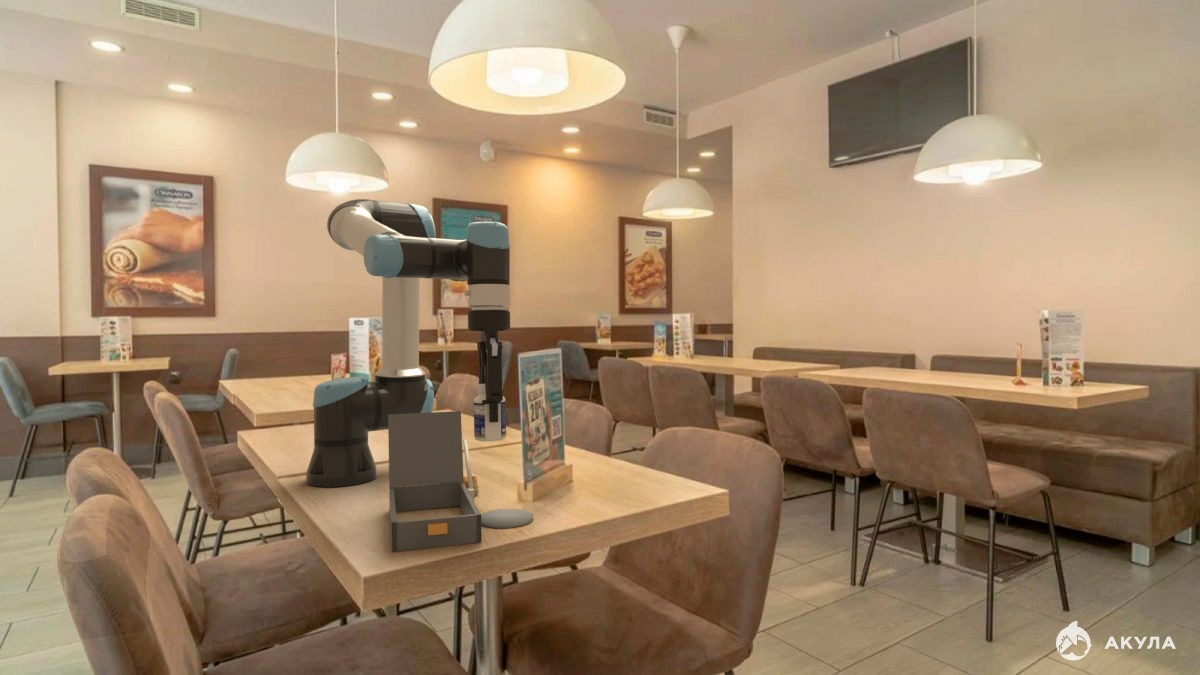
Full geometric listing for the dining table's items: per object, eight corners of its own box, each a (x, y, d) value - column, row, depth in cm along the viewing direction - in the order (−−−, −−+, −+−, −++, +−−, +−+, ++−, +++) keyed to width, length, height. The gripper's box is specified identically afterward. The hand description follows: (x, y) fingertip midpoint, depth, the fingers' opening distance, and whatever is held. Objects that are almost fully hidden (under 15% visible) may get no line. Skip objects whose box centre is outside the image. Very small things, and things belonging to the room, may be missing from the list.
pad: (474, 515, 124) (474, 511, 124) (526, 509, 127) (526, 506, 127) (482, 530, 114) (482, 527, 114) (538, 524, 118) (538, 521, 118)
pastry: (433, 500, 135) (433, 482, 135) (432, 493, 142) (432, 475, 142) (480, 497, 138) (480, 478, 138) (477, 489, 144) (476, 472, 144)
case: (389, 505, 131) (388, 414, 130) (466, 499, 135) (465, 410, 135) (392, 553, 103) (390, 437, 103) (488, 542, 108) (487, 431, 108)
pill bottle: (492, 435, 123) (491, 382, 123) (512, 438, 120) (512, 383, 120) (467, 439, 119) (466, 384, 119) (488, 443, 115) (487, 385, 115)
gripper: (462, 310, 127) (464, 431, 127) (473, 307, 109) (475, 447, 109) (501, 310, 129) (503, 429, 129) (518, 307, 111) (520, 444, 112)
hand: (490, 437), depth 119 cm, fingers closed on pill bottle, 6 cm apart
